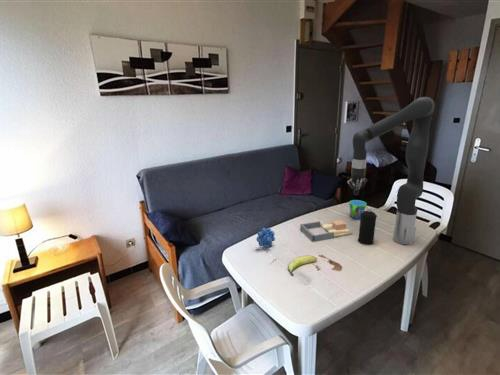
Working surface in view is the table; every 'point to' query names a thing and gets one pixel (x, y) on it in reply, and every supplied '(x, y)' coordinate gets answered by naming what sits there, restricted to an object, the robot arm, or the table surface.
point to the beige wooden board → (337, 233)
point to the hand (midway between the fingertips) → (356, 195)
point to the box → (314, 238)
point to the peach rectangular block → (339, 225)
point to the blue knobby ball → (265, 237)
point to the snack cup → (357, 208)
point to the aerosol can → (367, 227)
